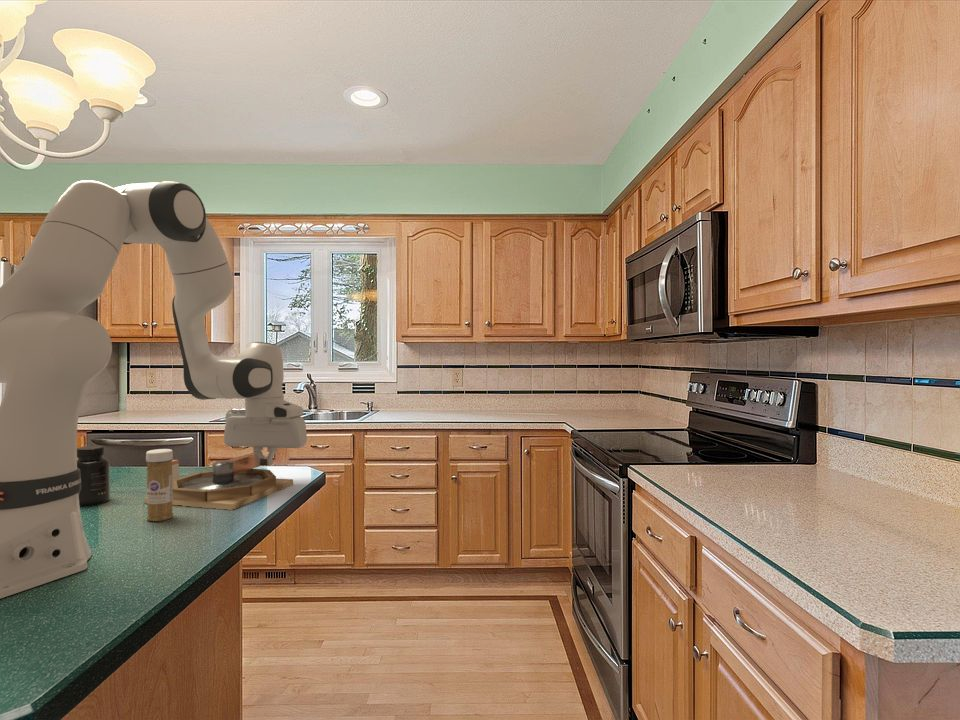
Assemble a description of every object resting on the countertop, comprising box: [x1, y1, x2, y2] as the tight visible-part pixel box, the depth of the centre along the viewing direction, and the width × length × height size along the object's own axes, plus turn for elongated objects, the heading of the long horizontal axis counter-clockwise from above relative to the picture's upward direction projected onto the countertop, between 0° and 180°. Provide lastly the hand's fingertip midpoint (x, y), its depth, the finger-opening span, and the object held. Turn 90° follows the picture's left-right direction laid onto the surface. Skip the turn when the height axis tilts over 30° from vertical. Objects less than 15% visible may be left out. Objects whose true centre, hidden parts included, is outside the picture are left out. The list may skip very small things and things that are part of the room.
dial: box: [181, 452, 263, 490], centre depth 128 cm, size 21×17×6 cm
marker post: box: [172, 459, 180, 480], centre depth 130 cm, size 2×2×7 cm
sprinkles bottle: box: [145, 448, 174, 522], centre depth 108 cm, size 5×5×14 cm
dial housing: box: [143, 468, 294, 511], centre depth 127 cm, size 22×22×3 cm
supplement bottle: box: [77, 445, 111, 507], centre depth 119 cm, size 7×7×12 cm
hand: (265, 465), depth 135 cm, fingers closed
